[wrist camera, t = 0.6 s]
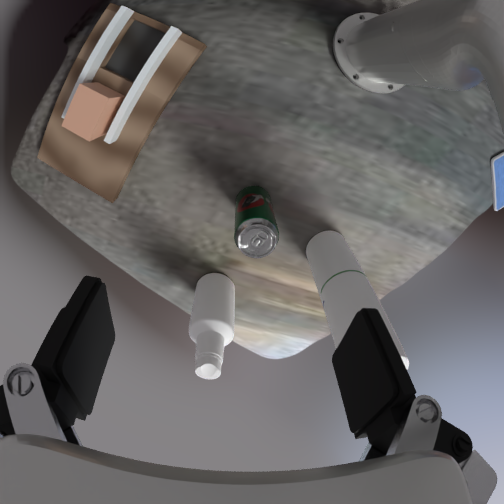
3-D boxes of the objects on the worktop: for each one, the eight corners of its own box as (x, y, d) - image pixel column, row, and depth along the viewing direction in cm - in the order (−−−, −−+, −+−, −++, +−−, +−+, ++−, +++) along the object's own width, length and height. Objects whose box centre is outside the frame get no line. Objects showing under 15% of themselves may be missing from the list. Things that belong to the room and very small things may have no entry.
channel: (128, 9, 23) (121, 5, 21) (182, 32, 26) (178, 29, 24) (70, 114, 31) (61, 117, 29) (116, 140, 34) (109, 144, 32)
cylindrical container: (307, 270, 49) (344, 399, 28) (304, 234, 45) (349, 366, 24) (346, 262, 48) (401, 383, 27) (346, 227, 45) (416, 348, 23)
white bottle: (194, 297, 51) (180, 381, 36) (199, 268, 48) (184, 354, 33) (230, 304, 52) (228, 388, 37) (238, 275, 49) (238, 362, 34)
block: (97, 82, 29) (79, 83, 25) (125, 96, 30) (109, 98, 26) (79, 119, 31) (61, 125, 27) (105, 134, 33) (89, 141, 29)
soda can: (229, 204, 42) (225, 247, 32) (249, 177, 40) (251, 212, 30) (257, 221, 44) (262, 268, 33) (277, 196, 41) (289, 236, 31)
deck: (115, 5, 24) (110, 2, 22) (206, 46, 29) (205, 44, 28) (43, 154, 35) (37, 157, 33) (117, 198, 40) (112, 203, 39)
